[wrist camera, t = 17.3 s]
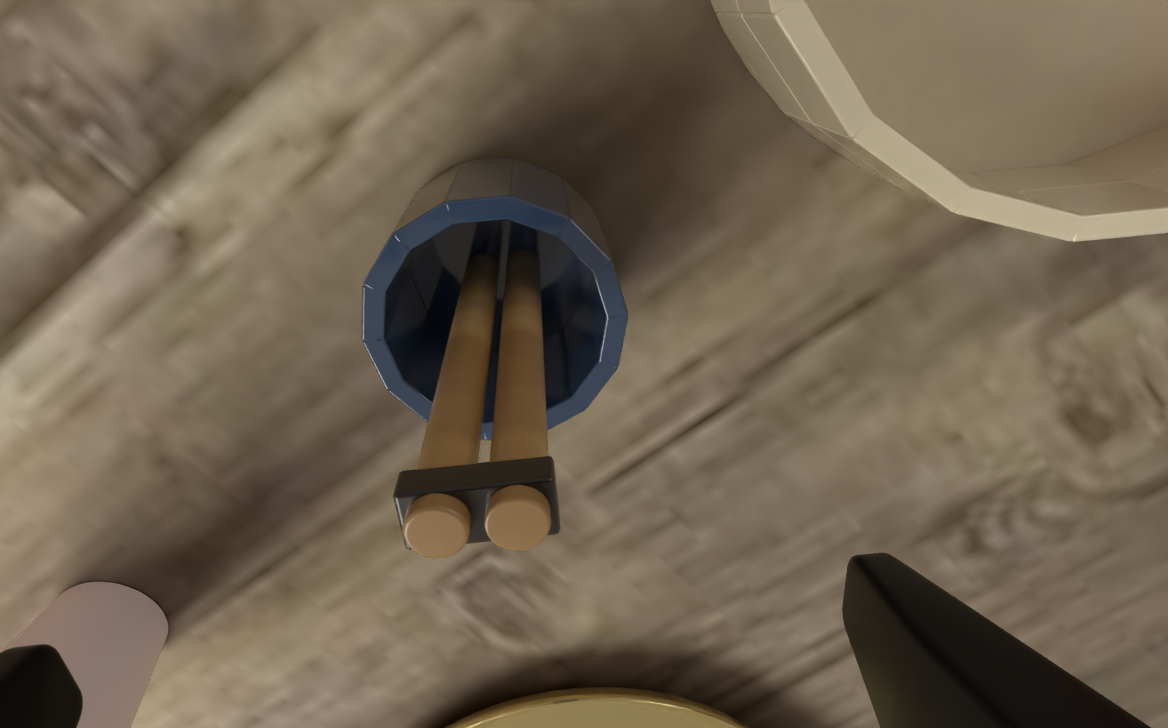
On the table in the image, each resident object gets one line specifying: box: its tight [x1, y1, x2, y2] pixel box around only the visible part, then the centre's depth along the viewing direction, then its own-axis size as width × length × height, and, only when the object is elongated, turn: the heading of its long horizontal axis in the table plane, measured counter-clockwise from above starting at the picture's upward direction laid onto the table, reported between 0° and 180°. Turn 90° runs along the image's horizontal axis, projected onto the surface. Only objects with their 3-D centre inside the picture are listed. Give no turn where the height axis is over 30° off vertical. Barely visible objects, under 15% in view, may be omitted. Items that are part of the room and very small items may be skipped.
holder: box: [362, 158, 628, 440], centre depth 18 cm, size 6×6×4 cm
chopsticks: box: [393, 249, 560, 558], centre depth 14 cm, size 1×2×11 cm, turn 94°
